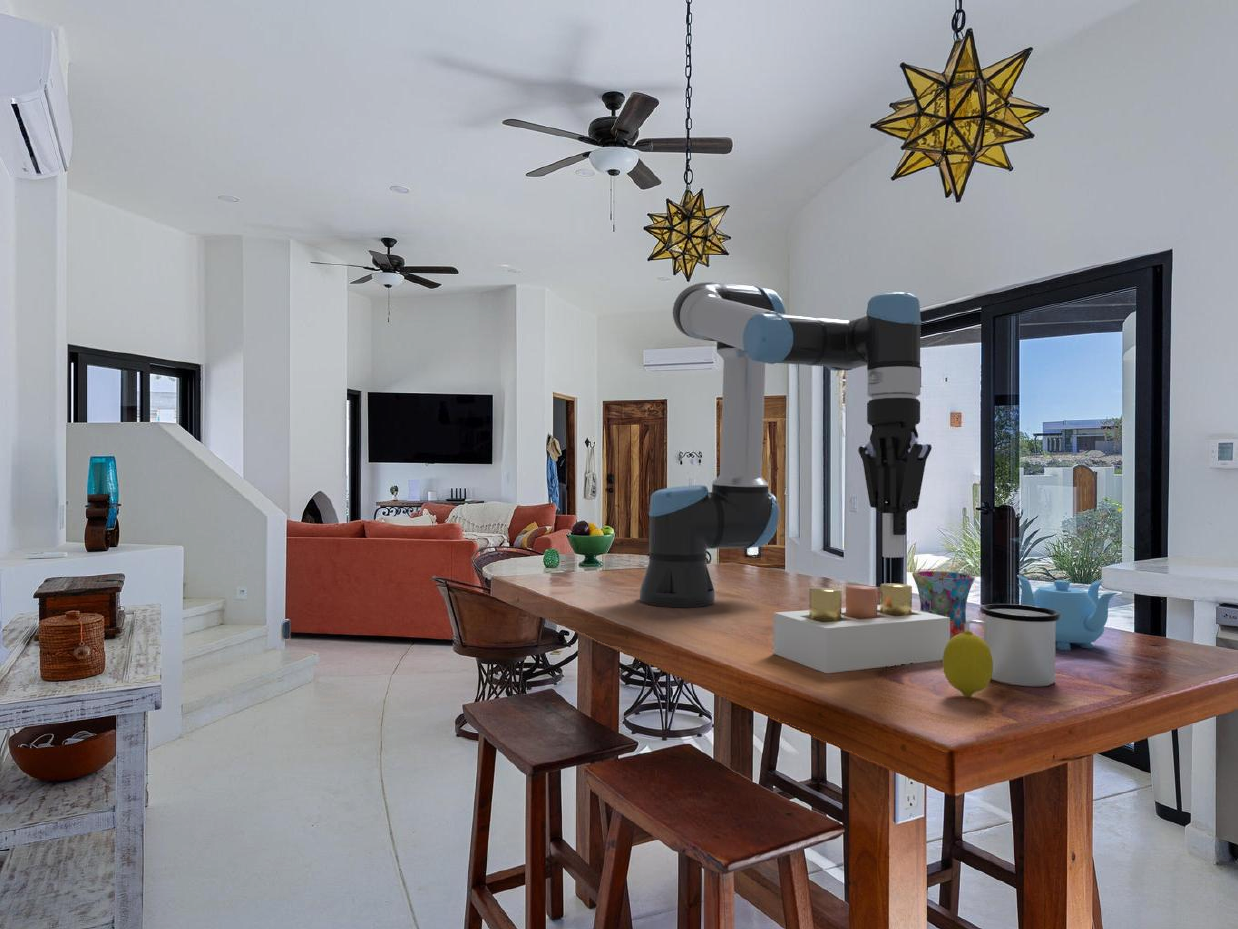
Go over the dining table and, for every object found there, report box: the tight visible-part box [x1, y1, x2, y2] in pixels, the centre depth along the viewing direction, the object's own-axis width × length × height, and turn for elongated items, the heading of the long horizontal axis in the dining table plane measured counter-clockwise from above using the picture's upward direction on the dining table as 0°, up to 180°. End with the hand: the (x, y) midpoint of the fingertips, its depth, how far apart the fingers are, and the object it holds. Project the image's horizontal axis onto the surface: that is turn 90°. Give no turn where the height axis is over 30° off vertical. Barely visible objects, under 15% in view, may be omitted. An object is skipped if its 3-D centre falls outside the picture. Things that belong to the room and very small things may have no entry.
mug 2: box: [965, 603, 1061, 688], centre depth 105 cm, size 12×10×9 cm
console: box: [773, 604, 950, 674], centre depth 115 cm, size 12×22×6 cm, turn 114°
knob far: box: [879, 582, 913, 617], centre depth 118 cm, size 4×4×5 cm
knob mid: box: [845, 585, 879, 620], centre depth 115 cm, size 4×4×5 cm
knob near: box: [808, 587, 843, 623], centre depth 113 cm, size 4×4×5 cm
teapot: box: [1016, 574, 1118, 651], centre depth 125 cm, size 13×13×10 cm
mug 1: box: [911, 570, 976, 639], centre depth 127 cm, size 12×9×11 cm
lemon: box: [942, 630, 993, 698], centre depth 95 cm, size 6×6×8 cm
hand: (893, 556), depth 118 cm, fingers closed
